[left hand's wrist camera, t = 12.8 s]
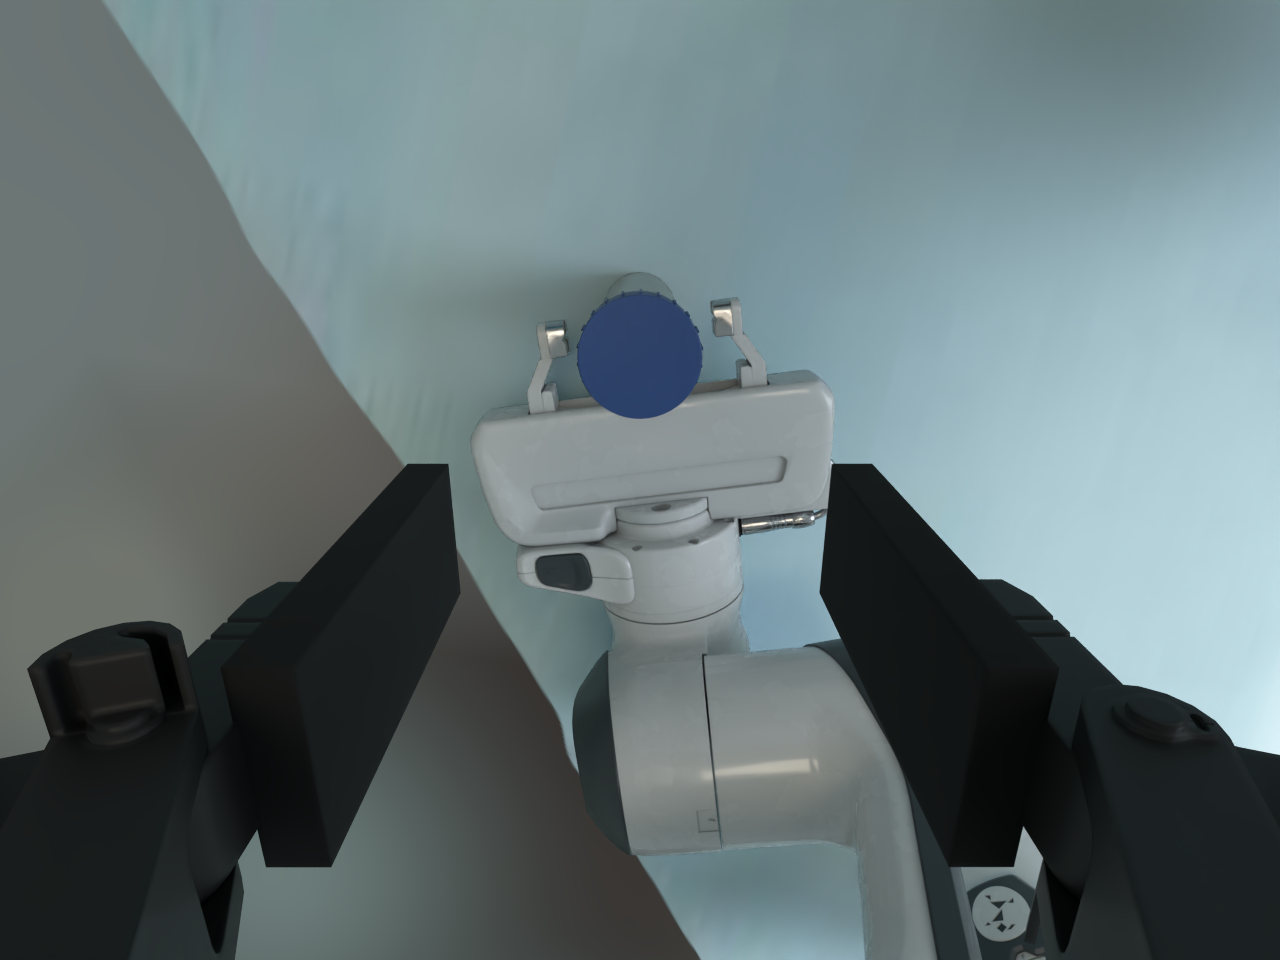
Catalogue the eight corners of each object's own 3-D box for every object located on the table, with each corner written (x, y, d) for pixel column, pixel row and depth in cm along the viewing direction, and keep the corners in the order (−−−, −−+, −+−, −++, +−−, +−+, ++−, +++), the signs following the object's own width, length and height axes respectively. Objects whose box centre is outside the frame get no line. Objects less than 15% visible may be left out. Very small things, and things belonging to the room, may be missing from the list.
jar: (615, 352, 47) (604, 419, 32) (595, 283, 46) (573, 319, 30) (683, 334, 47) (703, 393, 32) (665, 263, 45) (677, 289, 30)
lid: (598, 424, 33) (597, 434, 32) (563, 308, 31) (559, 312, 30) (713, 393, 33) (717, 402, 31) (683, 273, 31) (685, 277, 29)
